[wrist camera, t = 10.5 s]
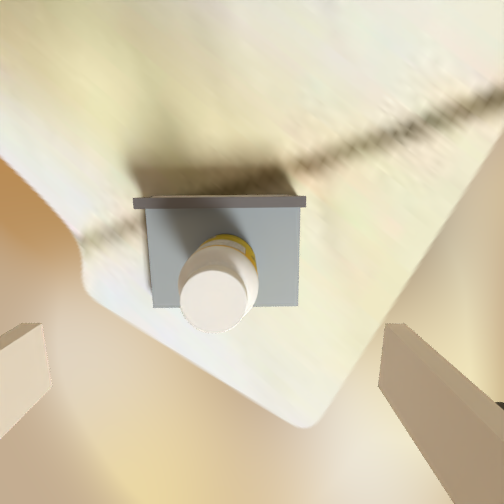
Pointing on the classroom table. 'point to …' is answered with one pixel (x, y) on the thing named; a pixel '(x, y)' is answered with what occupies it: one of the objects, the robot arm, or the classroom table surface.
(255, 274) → the pill bottle
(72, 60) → the classroom table surface
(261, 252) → the grey piece
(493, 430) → the robot arm
